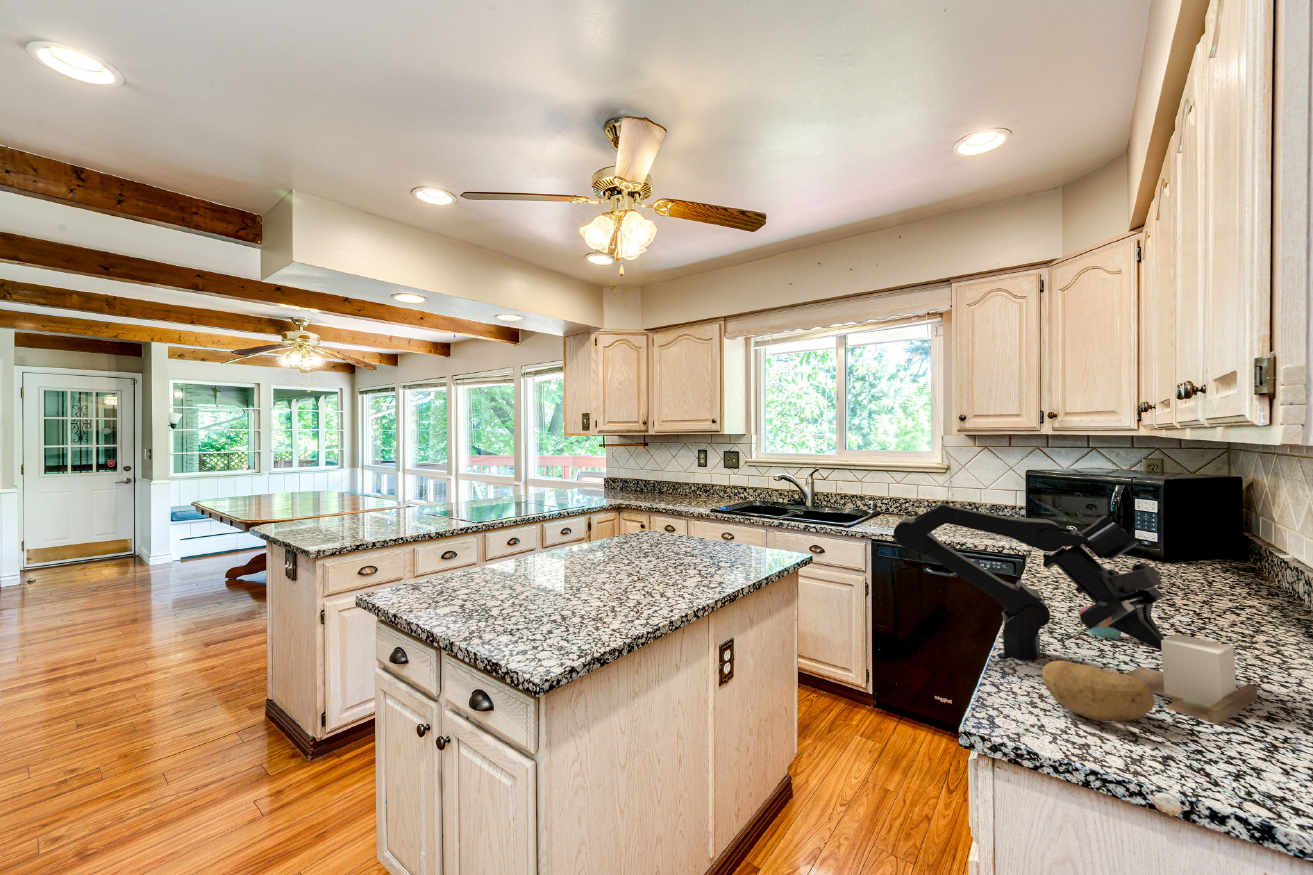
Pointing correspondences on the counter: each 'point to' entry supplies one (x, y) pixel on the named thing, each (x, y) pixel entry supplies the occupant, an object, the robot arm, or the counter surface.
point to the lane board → (1209, 714)
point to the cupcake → (1102, 627)
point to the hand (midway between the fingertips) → (1167, 650)
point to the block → (1197, 669)
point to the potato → (1097, 692)
